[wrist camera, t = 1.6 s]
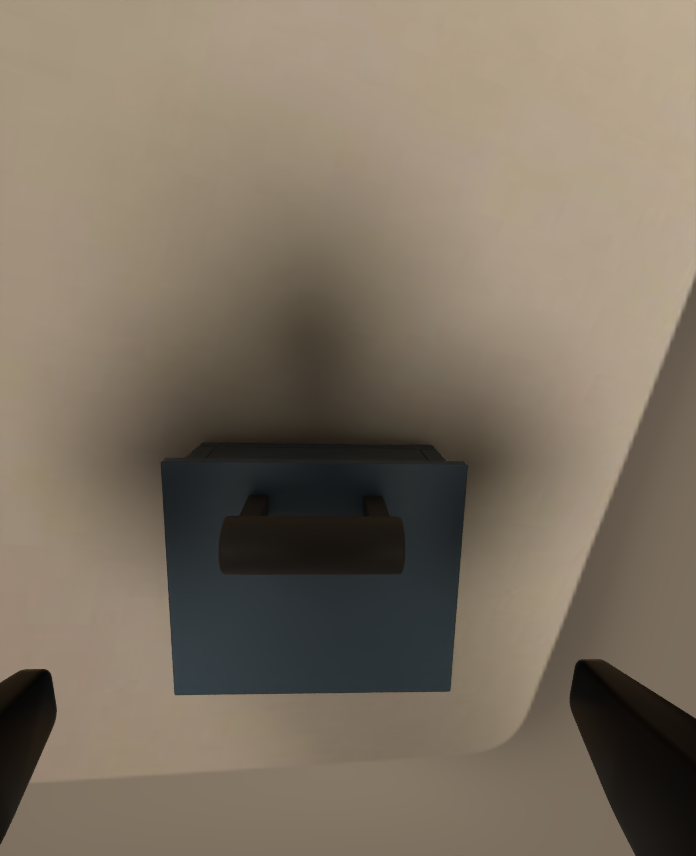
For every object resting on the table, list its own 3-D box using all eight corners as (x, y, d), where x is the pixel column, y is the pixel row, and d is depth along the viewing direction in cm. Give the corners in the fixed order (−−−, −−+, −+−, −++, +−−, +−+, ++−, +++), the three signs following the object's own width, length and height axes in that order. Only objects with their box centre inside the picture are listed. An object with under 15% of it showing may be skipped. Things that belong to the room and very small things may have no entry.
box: (202, 442, 21) (166, 473, 16) (432, 445, 22) (462, 476, 17) (209, 612, 23) (178, 684, 18) (422, 611, 23) (447, 681, 19)
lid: (165, 457, 16) (104, 503, 12) (464, 460, 17) (512, 506, 12) (178, 685, 18) (130, 799, 14) (447, 682, 19) (484, 791, 14)
